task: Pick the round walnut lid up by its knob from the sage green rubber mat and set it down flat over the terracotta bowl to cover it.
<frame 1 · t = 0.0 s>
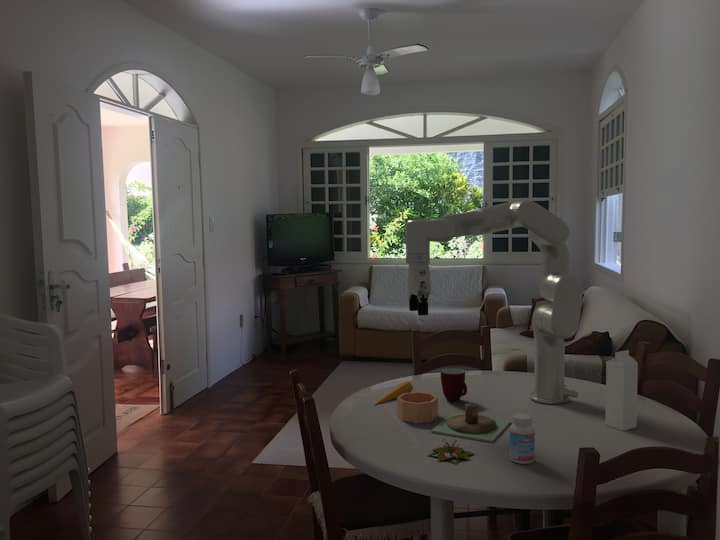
hand: (418, 312, 189), 31 cm above the table, tool pointing down, fingers open, 9 cm apart
carrot: (391, 399, 204), on the table
mug: (455, 401, 199), on the table
lily flower: (450, 457, 154), on the table
mat: (471, 427, 174), on the table
pill bottle: (522, 460, 150), on the table
lid: (471, 425, 174), point 1 cm above the table, touching mat
bowl: (417, 416, 184), on the table
milk: (620, 426, 172), on the table
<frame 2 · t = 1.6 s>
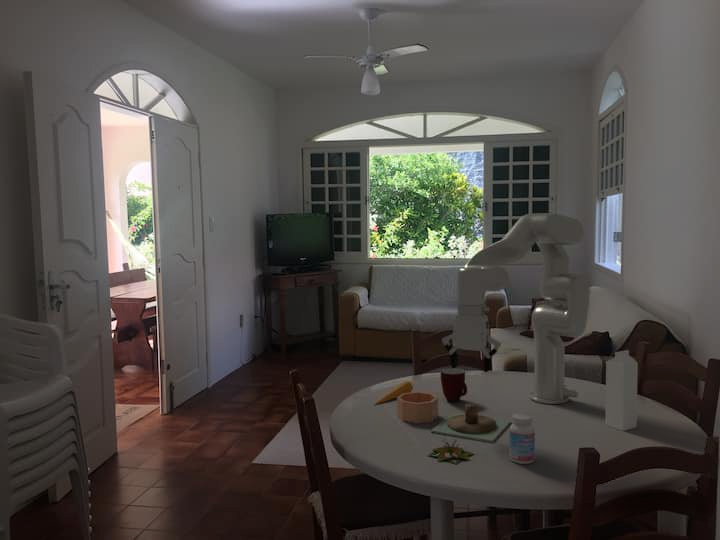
hand: (470, 369, 172), 17 cm above the table, tool pointing down, fingers open, 9 cm apart
nothing on the table moved.
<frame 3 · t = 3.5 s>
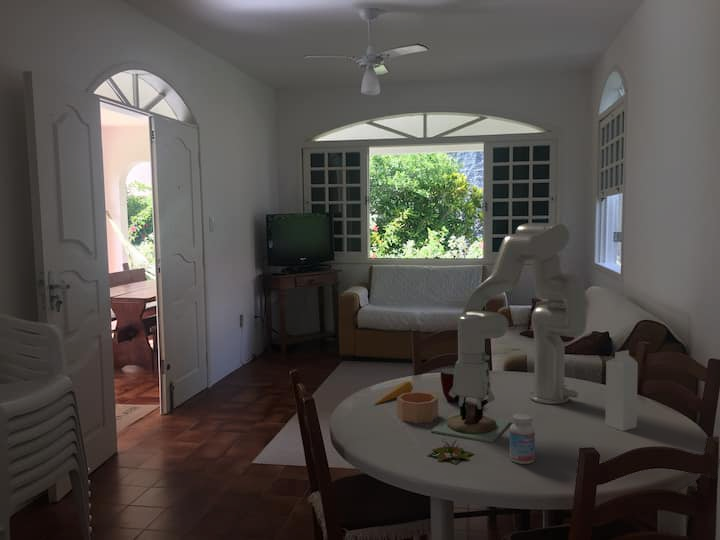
hand: (471, 419, 174), 2 cm above the table, tool pointing down, fingers closed on lid, 3 cm apart
lid: (471, 425, 174), point 1 cm above the table, touching gripper, mat
everything else where it was.
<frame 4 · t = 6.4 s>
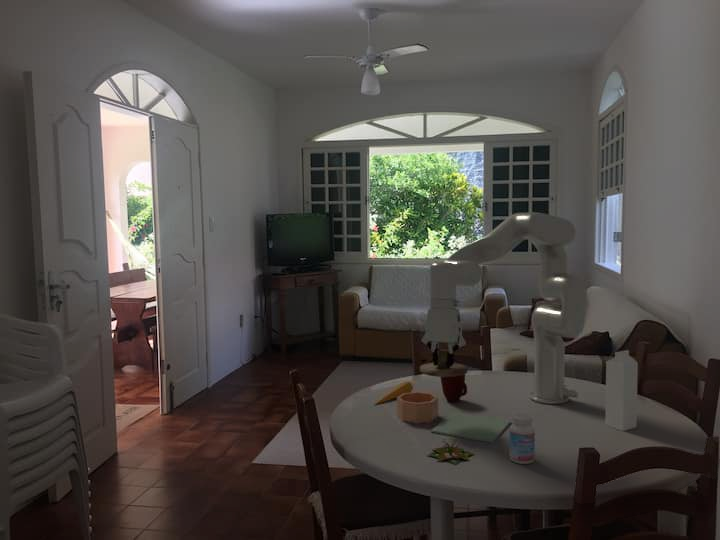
hand: (443, 364, 178), 17 cm above the table, tool pointing down, fingers closed on lid, 3 cm apart
lid: (443, 370, 178), point 16 cm above the table, touching gripper
everything else where it was.
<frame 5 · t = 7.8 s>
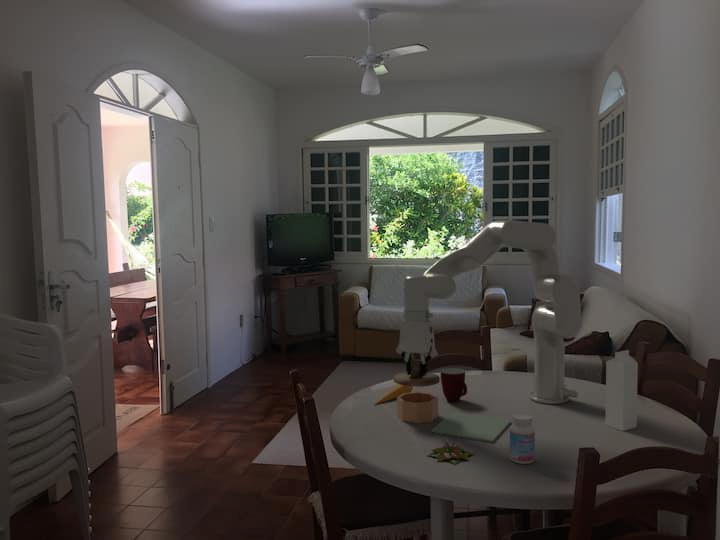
hand: (416, 374, 183), 13 cm above the table, tool pointing down, fingers closed on lid, 3 cm apart
lid: (416, 380, 183), point 11 cm above the table, touching gripper
everything else where it was.
when the fingers open (9 cm above the table, at t = 9.1 s): lid drops 1 cm, resting on bowl.
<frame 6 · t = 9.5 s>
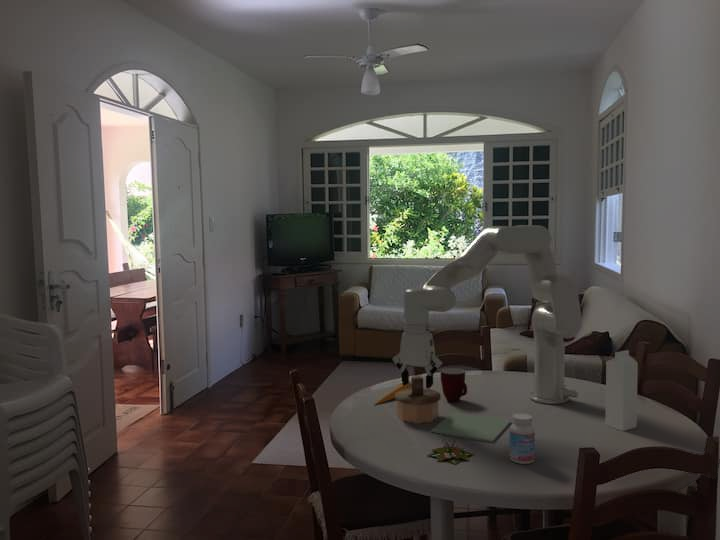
hand: (417, 385, 184), 10 cm above the table, tool pointing down, fingers open, 7 cm apart
lid: (417, 397, 184), point 6 cm above the table, touching bowl
everything else where it was.
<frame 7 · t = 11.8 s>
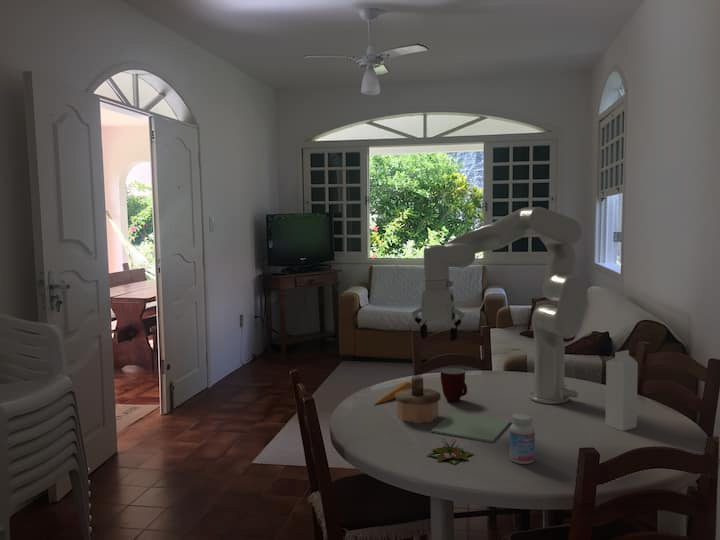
hand: (438, 339, 187), 23 cm above the table, tool pointing down, fingers open, 9 cm apart
nothing on the table moved.
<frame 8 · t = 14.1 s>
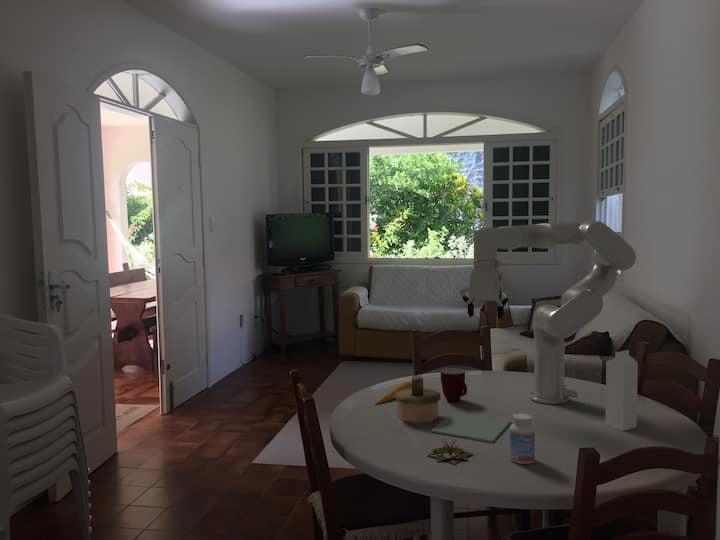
hand: (485, 317, 196), 28 cm above the table, tool pointing down, fingers open, 9 cm apart
nothing on the table moved.
at the end: lid 0.1 cm off-centre on the bowl, point 6.0 cm above the bowl's base; lid tilted 0°; the gripper is holding nothing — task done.
